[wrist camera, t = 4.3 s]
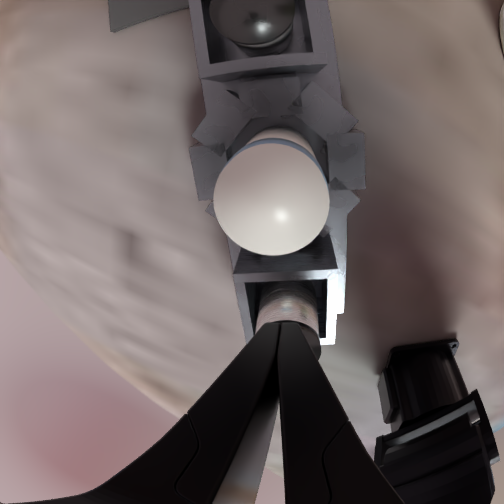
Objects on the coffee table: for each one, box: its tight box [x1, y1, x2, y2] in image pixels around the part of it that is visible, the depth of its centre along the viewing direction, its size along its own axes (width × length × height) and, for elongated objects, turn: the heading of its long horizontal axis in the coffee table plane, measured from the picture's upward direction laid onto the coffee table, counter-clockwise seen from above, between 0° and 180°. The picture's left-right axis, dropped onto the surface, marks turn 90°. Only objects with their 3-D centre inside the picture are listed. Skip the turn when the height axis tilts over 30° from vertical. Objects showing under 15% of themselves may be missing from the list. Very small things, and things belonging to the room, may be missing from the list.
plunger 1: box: [209, 0, 295, 57], centre depth 10 cm, size 3×3×4 cm
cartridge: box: [213, 126, 330, 255], centre depth 12 cm, size 4×4×7 cm
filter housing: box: [188, 0, 366, 345], centre depth 14 cm, size 8×21×4 cm, turn 8°
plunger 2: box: [255, 280, 321, 360], centre depth 15 cm, size 3×3×4 cm
